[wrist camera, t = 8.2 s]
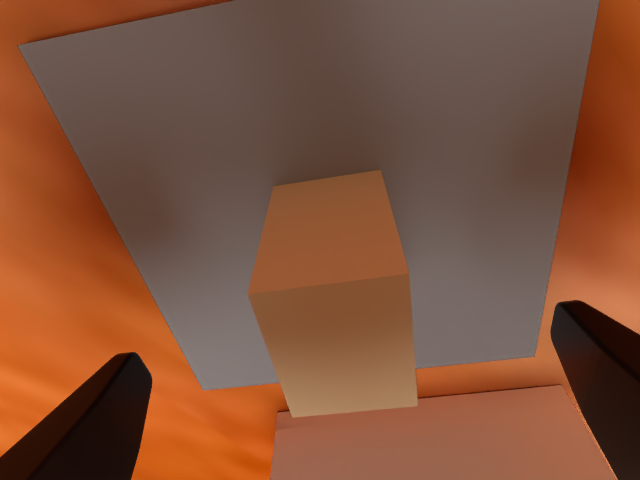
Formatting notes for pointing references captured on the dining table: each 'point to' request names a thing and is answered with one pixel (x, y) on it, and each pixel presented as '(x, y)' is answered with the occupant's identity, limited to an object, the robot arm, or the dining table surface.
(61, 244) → the dining table surface
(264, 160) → the lid
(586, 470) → the box
